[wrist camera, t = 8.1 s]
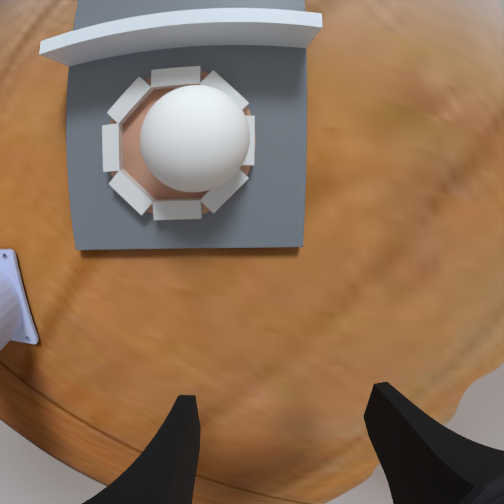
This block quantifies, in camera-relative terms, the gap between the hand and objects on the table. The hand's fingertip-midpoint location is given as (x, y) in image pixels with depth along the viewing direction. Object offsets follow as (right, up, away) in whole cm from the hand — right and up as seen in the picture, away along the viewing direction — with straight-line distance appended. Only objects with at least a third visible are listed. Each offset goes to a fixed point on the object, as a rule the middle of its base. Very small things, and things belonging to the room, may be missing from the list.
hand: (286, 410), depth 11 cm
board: (-5, +18, +4) cm, 19 cm away
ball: (-4, +11, +2) cm, 12 cm away
